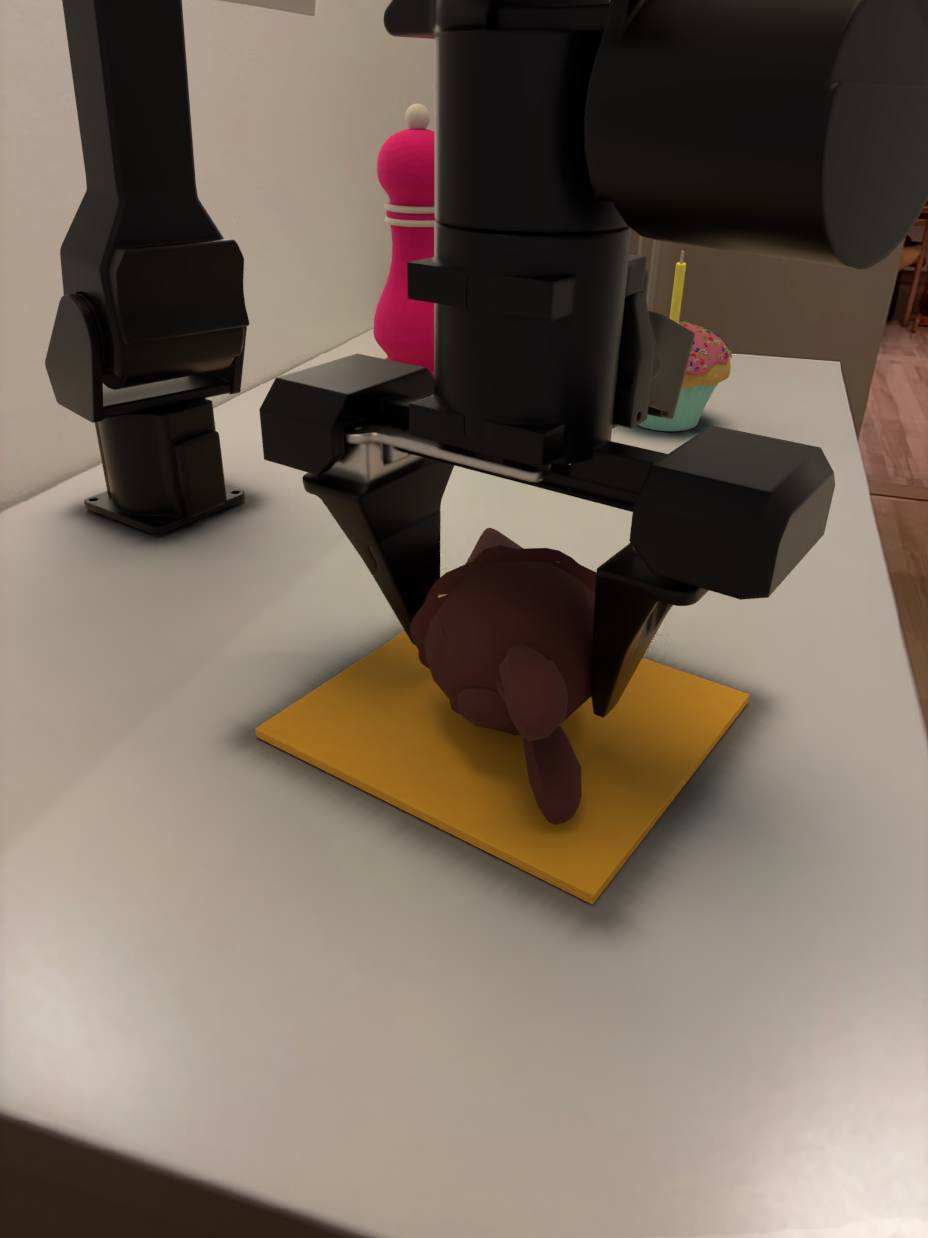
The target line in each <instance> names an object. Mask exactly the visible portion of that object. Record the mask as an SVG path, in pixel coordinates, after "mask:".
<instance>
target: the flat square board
mask: <svg viewBox="0 0 928 1238" xmlns="http://www.w3.org/2000/svg"><path fill="white" fill-rule="evenodd" d="M749 700H750V694H749V693H747V692H744V691H741V690H738V689H736V688H732V687H729V686H726V685H725V684H724V685H723V684H721V683H717V682H714V681H712V680H708V679H706V678H703V677H700V676H697V675H694V674H692V673H689V672H685V671H683V670H680V669H677V668H674V667H671V666H668V665H665V664H662V663H659V662H656V661H653V660H651V659H647V658H645V657H643V658H642V660H641V661H640V663H639V665H638V667H637V669H636V670H635V672H634V674H633V676H632V678H631V679H630V681H629V683H628V685H627V687H626V688H625V690H624V692H623V694H622V696H621V697H620V699H619V701H618V703H617V704H616V706H615V707H614V708H613V709H612V710H611V711H610V712H609V713H608V714H607V715H606V716H605V717H604V718H602V717H600V716H597V715H595V714H594V712H593V705H592V697H590V698H589V699H588V700H587V701H586V702H585V703H583V704H582V705H581V706H580V707H579V708H578V709H577V710H576V711H575V712H573V713H572V714H571V715H570V716H569V717H568V718H567V719H566V720H565V721H564V722H562V723H561V724H560V727H561V728H562V730H563V731H564V733H565V734H566V736H567V737H568V739H569V741H570V744H571V746H572V748H573V750H574V753H575V755H576V757H577V760H578V762H579V764H580V766H581V793H582V797H581V800H580V804H579V807H578V809H577V811H576V813H575V814H574V816H573V817H572V818H571V819H570V820H568V821H567V822H565V823H561V824H557V825H555V824H552V823H549V822H548V820H547V819H546V818H545V816H544V815H543V814H542V812H541V810H540V809H539V807H538V805H537V802H536V799H535V796H534V793H533V790H532V787H531V785H530V782H529V778H528V772H527V765H526V759H525V752H524V740H523V736H521V735H512V734H509V733H505V732H501V731H497V730H493V729H487V728H482V727H477V726H475V725H474V724H472V723H471V722H470V721H468V720H467V719H466V718H464V717H463V716H462V715H461V714H457V713H456V712H454V711H453V710H452V709H451V705H450V701H449V698H448V697H447V696H446V695H445V693H444V692H443V691H442V690H441V689H440V687H439V686H438V685H437V684H436V683H435V681H434V680H433V677H432V674H431V672H430V669H428V668H427V667H426V666H424V665H423V664H422V663H421V661H420V659H419V650H418V648H417V646H416V645H414V644H413V643H412V642H411V640H410V639H409V637H408V635H407V634H406V632H405V630H403V631H401V632H400V633H398V634H397V635H395V636H394V637H392V638H391V639H390V640H388V641H385V643H383V644H381V645H380V646H378V647H377V648H376V649H374V650H373V651H371V652H370V653H368V654H367V655H365V656H363V657H362V658H361V659H359V660H357V661H356V662H354V663H352V664H351V665H350V666H348V667H346V668H345V669H343V670H342V671H340V672H339V673H337V674H336V675H335V676H333V677H331V678H330V679H328V680H327V681H325V682H324V683H322V684H321V685H319V686H318V687H316V688H314V689H313V690H311V691H310V692H309V693H307V694H305V695H304V696H303V697H301V698H300V699H298V700H296V701H295V702H293V703H292V704H290V705H289V706H287V707H286V708H284V709H283V710H281V711H280V712H278V713H277V714H275V715H274V716H272V717H270V718H269V719H268V720H266V721H265V722H263V723H261V724H259V725H258V726H256V727H255V729H254V730H255V731H254V732H255V737H256V738H258V739H260V740H261V741H263V742H266V743H268V744H270V745H271V746H273V747H276V748H278V749H280V750H282V751H284V752H286V753H288V754H289V755H292V756H294V757H296V758H298V759H300V760H302V761H304V762H305V763H307V764H310V765H312V766H314V767H316V768H318V769H320V770H322V771H324V772H326V773H328V774H330V775H332V776H334V777H335V778H338V779H340V780H342V781H343V782H346V783H347V784H350V785H351V786H354V787H356V788H358V789H360V790H362V791H364V792H366V793H368V794H370V795H372V796H374V797H376V798H378V799H380V800H382V801H384V802H386V803H388V804H390V805H392V806H394V807H396V808H398V809H400V810H402V811H404V812H406V813H407V814H410V815H412V816H414V817H416V818H417V819H420V820H422V821H424V822H426V823H428V824H430V825H432V826H434V827H436V828H438V829H440V830H441V831H444V832H446V833H447V834H449V835H452V836H454V837H456V838H458V839H460V840H462V841H464V842H466V843H468V844H470V845H472V846H474V847H476V848H478V849H480V850H482V851H485V852H486V853H488V854H490V855H491V856H494V857H496V858H498V859H500V860H502V861H504V862H507V863H508V864H510V865H512V866H515V867H516V868H518V869H520V870H522V871H524V872H526V873H528V874H529V875H532V876H533V877H536V878H538V879H540V880H542V881H544V882H546V883H548V884H550V885H552V886H554V887H557V888H558V889H561V890H562V891H564V892H566V893H568V894H570V895H573V896H574V897H576V898H578V899H581V900H582V901H584V902H586V903H589V904H590V905H594V904H595V902H596V901H597V900H598V898H599V897H600V896H601V895H602V893H603V892H604V891H605V890H606V888H607V887H608V886H609V884H610V883H611V881H612V880H613V879H614V877H616V875H618V872H619V871H620V870H621V869H622V867H623V866H624V865H625V863H626V862H627V860H628V859H630V857H631V856H632V854H633V853H634V851H635V850H636V849H637V848H638V846H639V845H640V843H642V841H643V840H644V839H645V837H646V836H647V835H648V833H650V831H651V829H652V828H653V827H654V826H655V824H656V823H657V822H658V821H659V819H660V818H661V817H662V815H663V814H664V812H665V811H666V810H667V808H668V807H669V806H670V805H671V803H672V802H673V801H674V800H675V798H676V797H677V796H678V795H679V793H680V792H681V791H682V789H683V788H684V786H685V785H686V784H687V783H688V782H689V780H690V779H691V777H692V776H693V775H694V773H696V771H697V770H698V768H699V767H700V766H701V764H702V763H703V762H704V761H705V760H706V758H707V757H708V755H709V754H710V752H712V750H713V749H714V747H715V746H716V745H717V744H718V742H719V741H720V740H721V738H722V737H723V736H724V734H725V733H726V732H727V730H728V729H729V728H730V726H732V724H733V723H734V721H735V720H736V719H737V718H738V716H739V715H740V713H741V712H742V711H743V710H744V708H745V707H746V706H747V704H748V703H749Z"/></svg>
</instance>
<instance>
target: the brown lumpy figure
mask: <svg viewBox="0 0 928 1238" xmlns="http://www.w3.org/2000/svg"><path fill="white" fill-rule="evenodd" d="M595 586H596V571H595V570H593V569H590V568H588V567H586V566H584V565H582V564H580V563H579V562H578V561H576V560H575V559H574V558H573V557H572V556H570V555H568V554H567V553H565V552H562V551H561V550H559V549H553V548H549V547H531V548H524V547H523V546H521V545H519V544H518V543H517V542H515V541H514V540H512V539H511V538H509V537H508V536H507V535H505V534H504V533H502V532H500V531H499V530H497V529H495V528H492V527H487V528H486V529H484V530H483V532H482V533H481V535H480V536H479V538H478V540H477V542H476V544H475V545H474V547H473V550H472V551H471V553H470V555H469V557H468V558H467V561H466V562H465V564H461V565H460V566H458V567H455V568H453V569H451V570H449V571H447V572H445V573H444V574H443V575H440V578H439V579H438V580H437V581H435V583H434V585H433V586H432V588H431V589H430V591H429V592H428V594H427V597H426V600H425V602H424V604H423V606H422V607H421V608H420V610H419V611H418V612H417V614H416V615H415V616H414V618H413V620H412V622H411V625H410V632H411V636H412V638H413V640H414V642H415V644H416V646H417V648H418V650H419V659H420V661H421V663H422V664H423V665H424V666H426V667H427V668H428V669H430V672H431V674H432V677H433V680H434V681H435V683H436V684H437V685H438V686H439V687H440V689H441V690H442V691H443V692H444V693H445V695H446V696H447V697H448V698H449V701H450V705H451V709H452V710H453V711H454V712H456V713H457V714H461V715H462V716H463V717H464V718H466V719H467V720H468V721H470V722H471V723H472V724H474V725H475V726H477V727H482V728H487V729H493V730H497V731H501V732H505V733H509V734H512V735H521V736H523V740H524V752H525V759H526V765H527V772H528V778H529V782H530V785H531V787H532V790H533V793H534V796H535V799H536V802H537V805H538V807H539V809H540V810H541V812H542V814H543V815H544V816H545V818H546V819H547V820H548V822H549V823H552V824H555V825H557V824H561V823H565V822H567V821H568V820H570V819H571V818H572V817H573V816H574V814H575V813H576V811H577V809H578V807H579V804H580V800H581V797H582V793H581V766H580V764H579V762H578V760H577V757H576V755H575V753H574V750H573V748H572V746H571V744H570V741H569V739H568V737H567V736H566V734H565V733H564V731H563V730H562V728H561V727H560V724H561V723H562V722H564V721H565V720H566V719H567V718H568V717H569V716H570V715H571V714H572V713H573V712H575V711H576V710H577V709H578V708H579V707H580V706H581V705H582V704H583V703H585V702H586V701H587V700H588V699H589V698H590V697H591V689H590V681H591V662H592V644H593V625H594V604H595Z"/></svg>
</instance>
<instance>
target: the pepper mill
mask: <svg viewBox="0 0 928 1238" xmlns="http://www.w3.org/2000/svg"><path fill="white" fill-rule="evenodd" d="M404 119H405V123H406V126H407V127H408V128H406V129H402V130H399V131H396V132H395V133H393V134H391V135H390V136H389V137H388V138H386V140H385V141H384V142H383V144H382V145H381V147H380V150H379V151H378V154H377V159H376V174H377V175H376V176H377V180H378V183H379V184H380V187H381V188H382V189H383V190H384V192H385V193H386V196H387V197H388V199H389V201H387V202H386V203H385V204H384V210H386V212H385V214H386V215H385V218H384V222H385V223H386V224H388V225H390V233H391V234H390V235H391V261H390V266H389V272H388V276H387V279H386V281H385V283H384V287H383V289H382V291H381V294H380V297H379V299H378V301H377V305H376V308H375V313H374V317H373V329H372V330H373V338H374V340H375V341H376V343H377V346H378V347H380V349H381V350H382V351H383V352H384V353H385V355H386V356H387V357H385V358H384V359H387V360H392V361H397V362H402V363H406V364H411V365H416V366H421V367H426V368H428V370H429V371H430V372H431V373H432V375H433V376H434V303H431V302H424V301H418V300H412V299H408V285H407V262H412V261H417V260H422V259H427V258H432V257H434V221H435V130H431V129H428V127H429V125H430V121H431V114H430V112H429V110H428V108H427V107H426V106H425V105H424V104H421V103H413V104H411V105H409V107H408V108H407V110H406V111H405V115H404Z"/></svg>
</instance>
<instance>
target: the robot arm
mask: <svg viewBox="0 0 928 1238" xmlns="http://www.w3.org/2000/svg"><path fill="white" fill-rule="evenodd" d="M61 2H62V10H63V19H64V24H65V32H66V39H67V40H66V41H67V47H68V55H69V62H70V69H71V70H70V71H71V77H72V84H73V92H74V98H75V106H76V113H77V122H78V129H79V136H80V145H81V150H82V158H83V165H84V172H85V173H84V174H85V183H86V189H85V193H84V195H83V197H82V199H81V202H80V204H79V206H78V208H77V210H76V213H75V214H74V217H73V219H72V221H71V223H70V226H69V228H68V230H67V232H66V235H65V236H64V239H63V241H62V243H61V246H60V249H59V255H60V256H59V257H60V268H61V280H62V291H63V295H62V296H60V299H59V302H58V306H57V310H56V315H55V318H54V322H53V325H52V326H53V327H52V331H51V335H50V339H49V342H48V348H47V352H46V355H45V358H44V359H45V360H44V366H45V370H46V373H47V376H48V379H49V382H50V385H51V389H52V392H53V395H54V398H55V400H56V403H57V404H58V405H60V406H62V407H64V408H65V409H66V410H69V411H71V412H73V413H74V414H75V415H78V416H79V417H80V418H82V419H85V420H87V421H88V422H90V423H92V424H93V423H94V428H95V433H96V439H97V444H98V449H99V455H100V459H101V466H102V471H103V476H104V481H105V486H106V491H103V492H100V493H98V494H95V495H92V496H89V497H87V498H84V500H83V502H84V506H85V507H84V508H85V509H86V510H88V511H91V512H94V513H97V514H99V515H102V516H104V517H107V518H109V519H112V520H115V521H117V522H120V523H123V524H126V525H128V526H131V527H133V528H135V529H139V530H141V531H144V532H147V533H149V534H152V535H153V534H154V535H163V534H167V533H168V532H171V531H174V530H176V529H178V528H181V527H183V526H185V525H188V524H190V523H193V522H195V521H198V520H201V519H203V518H206V517H208V516H210V515H212V514H214V513H217V512H220V511H222V510H224V509H227V508H230V507H232V506H234V505H236V504H239V503H241V502H243V501H245V500H246V492H245V490H243V489H240V488H237V487H234V486H231V485H229V484H228V485H227V484H226V481H225V480H226V479H225V472H224V464H223V455H222V447H221V446H222V445H221V437H220V433H219V432H218V431H217V430H216V422H215V413H214V404H213V400H211V399H208V398H212V397H217V396H222V395H227V394H229V395H236V394H240V393H241V391H242V380H243V379H242V378H243V371H244V370H243V368H244V361H245V350H246V339H247V330H248V326H250V319H249V316H248V311H247V306H246V301H245V300H246V299H245V291H244V274H245V270H244V269H245V257H244V255H243V253H242V250H241V248H240V246H239V244H238V243H237V241H236V240H235V239H232V238H224V236H223V235H222V233H221V231H220V230H219V228H218V227H217V225H216V223H215V222H214V221H213V219H212V217H211V216H210V214H209V212H208V211H207V209H206V208H205V207H204V205H203V204H202V202H201V200H200V198H199V195H198V188H197V180H196V179H197V178H196V167H195V155H194V140H193V130H192V129H193V128H192V117H191V115H192V114H191V102H190V89H189V76H188V64H187V63H188V62H187V61H188V60H187V49H186V37H185V24H184V23H185V22H184V11H183V10H184V9H183V0H61ZM383 27H384V29H385V31H386V33H388V35H390V37H391V36H392V37H395V38H396V37H398V38H410V39H411V38H413V39H432V40H434V131H435V221H434V257H432V258H427V259H422V260H417V261H412V262H407V285H408V299H412V300H418V301H424V302H431V303H434V376H433V375H432V373H431V372H430V371H429V370H428V368H426V367H421V366H416V365H411V364H406V363H402V362H397V361H392V360H387V359H385V358H383V357H376V356H371V355H367V354H362V353H355V354H352V355H351V354H350V355H348V356H344V357H341V358H338V359H337V358H336V359H334V360H331V361H328V362H324V363H321V364H318V365H314V366H310V367H308V368H304V369H300V370H297V371H294V372H293V371H292V372H290V373H287V374H283V375H280V376H277V377H275V378H274V380H273V382H272V384H271V386H270V388H269V389H268V392H267V394H266V396H265V398H264V400H263V402H262V403H261V405H260V407H259V410H258V411H259V420H260V421H259V422H260V431H261V443H262V452H263V454H262V455H263V460H264V461H267V462H270V463H274V464H278V465H280V466H284V467H288V468H290V469H295V470H298V471H301V472H305V474H303V476H302V484H303V488H304V491H305V492H306V493H308V494H310V495H313V496H316V497H318V498H319V499H320V500H321V502H322V503H323V504H324V506H325V507H326V508H327V510H328V512H329V513H330V515H331V516H332V518H333V519H334V520H335V522H336V523H337V525H338V526H339V528H340V529H341V531H342V532H343V533H344V535H345V536H346V538H347V539H348V541H349V542H350V544H351V545H352V546H353V548H354V549H355V551H356V553H357V554H358V555H359V557H360V558H361V560H362V561H363V563H364V564H365V566H366V568H367V569H368V571H369V573H370V574H371V576H372V577H373V579H374V581H375V583H376V584H377V586H378V588H379V589H380V591H381V594H383V596H384V598H385V599H386V601H387V603H388V605H389V606H390V608H391V610H392V611H393V613H394V615H395V617H396V618H397V621H398V622H399V624H400V625H401V627H402V628H403V631H405V632H406V634H407V635H408V637H409V639H410V640H411V642H412V643H413V644H414V645H416V644H415V642H414V640H413V638H412V636H411V632H410V625H411V622H412V620H413V618H414V616H415V615H416V614H417V612H418V611H419V610H420V608H421V607H422V606H423V604H424V602H425V600H426V597H427V594H428V592H429V591H430V589H431V588H432V586H433V585H434V583H435V581H437V580H438V579H439V578H440V577H441V520H442V519H441V517H442V516H441V515H442V514H441V508H442V507H441V505H442V500H443V496H444V494H445V491H446V489H447V486H448V484H449V481H450V478H451V476H452V473H453V471H454V467H459V468H462V469H466V470H470V471H474V472H478V473H481V474H485V475H488V476H493V477H497V478H501V479H504V480H509V481H512V482H515V483H520V484H524V485H528V486H531V487H535V488H538V489H543V490H545V491H550V492H554V493H558V494H562V495H566V496H570V497H573V498H577V499H580V500H584V501H589V502H592V503H596V504H600V505H604V506H608V507H610V508H611V507H612V508H615V509H619V510H623V511H627V512H630V513H632V515H631V525H630V533H629V540H628V541H629V543H627V545H625V546H624V547H623V548H621V549H620V550H619V551H617V552H616V553H615V554H613V555H612V556H611V557H610V558H608V559H607V560H606V561H605V562H603V563H602V564H600V565H599V566H598V567H597V568H596V571H595V572H596V586H595V604H594V625H593V644H592V662H591V681H590V689H591V697H592V705H593V712H594V714H595V715H597V716H600V717H602V718H604V717H605V716H606V715H607V714H608V713H609V712H610V711H611V710H612V709H613V708H614V707H615V706H616V704H617V703H618V701H619V699H620V697H621V696H622V694H623V692H624V690H625V688H626V687H627V685H628V683H629V681H630V679H631V678H632V676H633V674H634V672H635V670H636V669H637V667H638V665H639V663H640V661H641V660H642V658H644V656H645V654H646V652H647V651H648V649H649V647H650V646H651V644H652V641H653V640H654V638H655V636H656V635H657V632H659V629H660V627H661V625H662V624H663V623H664V620H665V618H666V617H667V616H668V614H669V612H670V610H671V609H672V608H673V606H677V607H689V606H692V605H695V604H697V603H698V602H699V601H700V600H701V599H702V598H703V597H704V596H705V595H706V594H707V593H708V592H714V593H718V594H720V595H723V596H728V597H730V598H734V599H737V600H741V601H742V600H755V599H767V598H768V599H769V598H770V596H771V595H772V594H773V593H774V592H775V591H776V589H778V587H779V586H780V585H781V584H782V583H783V582H784V580H786V579H787V577H788V576H789V575H790V574H791V573H792V572H793V570H794V569H795V568H796V567H797V566H798V565H799V563H800V562H801V561H802V560H803V559H804V558H805V557H806V556H807V555H808V553H809V552H810V551H811V550H812V549H813V548H814V547H815V546H816V544H817V543H818V542H819V541H820V540H821V538H822V537H824V535H825V532H826V528H827V523H828V519H829V514H830V510H831V506H832V501H833V497H834V492H835V487H836V479H835V471H834V469H833V467H832V466H831V464H830V462H829V460H828V459H827V456H826V454H825V453H824V451H823V449H822V447H820V446H815V445H811V444H807V443H801V442H796V441H790V440H786V439H781V438H776V437H771V436H767V435H762V434H756V433H751V432H746V431H741V430H737V429H732V428H727V427H721V426H718V425H712V424H711V425H710V426H708V427H707V428H705V429H704V430H702V431H701V432H699V433H698V434H696V435H694V436H693V437H691V438H690V439H689V440H687V441H685V442H684V443H682V444H681V445H679V446H678V447H676V448H675V449H673V450H671V452H669V453H666V452H662V451H657V450H652V449H649V448H643V447H638V446H634V445H630V444H626V443H621V442H617V441H612V433H613V429H615V428H617V427H623V428H627V429H633V428H635V427H636V426H639V425H638V424H640V423H642V422H643V421H645V420H647V415H652V416H657V417H662V418H667V419H672V418H673V417H674V413H675V409H676V406H677V402H678V398H679V394H680V390H681V387H682V383H683V379H684V375H685V371H686V367H687V364H688V360H689V356H690V352H691V348H692V344H693V341H694V337H695V333H694V332H692V331H691V330H689V329H687V328H685V327H684V326H682V325H680V324H678V323H677V322H675V321H673V320H671V319H670V317H668V316H665V314H664V315H663V314H661V313H658V312H655V311H652V310H649V308H648V304H647V303H648V302H647V293H648V292H647V291H648V284H649V273H648V271H647V260H648V259H647V258H648V256H647V255H638V254H630V253H631V252H630V251H631V241H632V240H631V239H632V232H633V231H634V232H635V233H636V234H638V235H639V236H640V237H642V238H643V237H644V238H647V239H650V240H653V241H654V240H655V241H660V242H667V243H673V244H681V245H686V246H687V245H688V246H695V247H702V248H708V249H714V250H722V251H728V252H730V251H731V252H735V253H744V254H750V255H756V256H762V257H763V256H764V257H769V258H770V257H771V258H777V259H783V260H789V261H798V262H806V263H812V264H820V265H827V266H832V267H839V268H847V269H853V270H866V269H870V268H872V267H874V266H876V265H877V264H879V263H880V262H882V261H884V260H885V259H887V258H888V257H889V256H890V255H891V254H892V253H893V252H894V251H895V249H896V248H898V247H899V245H900V244H902V242H903V241H904V240H905V238H906V237H907V236H908V234H909V232H910V231H911V230H912V228H913V226H914V225H915V224H916V222H917V221H918V219H919V218H920V216H921V214H922V212H923V210H924V207H925V206H926V204H927V202H928V0H390V2H389V4H387V6H386V8H385V10H384V13H383Z"/></svg>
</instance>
